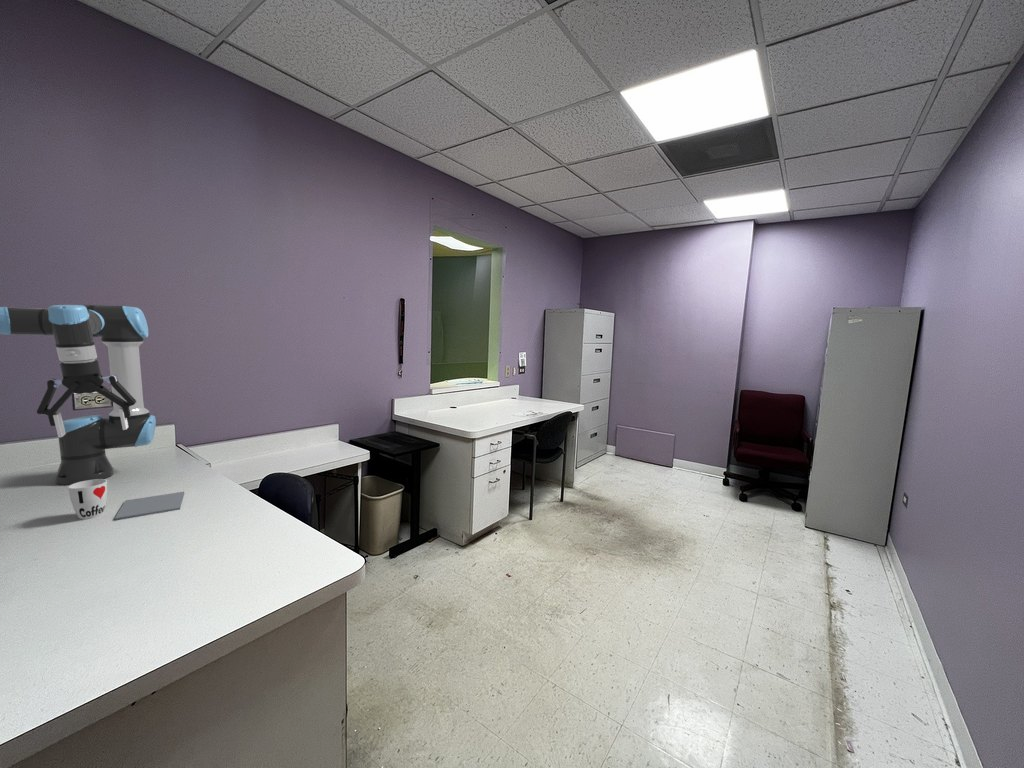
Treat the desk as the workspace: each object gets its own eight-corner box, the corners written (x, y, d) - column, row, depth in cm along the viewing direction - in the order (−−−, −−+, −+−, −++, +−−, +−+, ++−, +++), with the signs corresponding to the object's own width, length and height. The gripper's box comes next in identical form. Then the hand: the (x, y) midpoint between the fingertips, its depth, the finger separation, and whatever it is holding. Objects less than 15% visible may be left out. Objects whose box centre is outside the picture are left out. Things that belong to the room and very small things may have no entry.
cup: (73, 524, 118) (70, 490, 117) (69, 516, 123) (66, 484, 122) (112, 514, 125) (109, 483, 124) (107, 507, 130) (104, 477, 129)
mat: (125, 502, 134) (125, 500, 134) (184, 493, 143) (184, 491, 143) (114, 520, 121) (114, 518, 121) (180, 509, 130) (179, 507, 130)
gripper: (6, 366, 106) (27, 443, 111) (134, 360, 119) (147, 429, 124) (20, 361, 113) (39, 434, 118) (140, 355, 125) (152, 422, 130)
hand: (94, 432), depth 121 cm, fingers open, 13 cm apart
